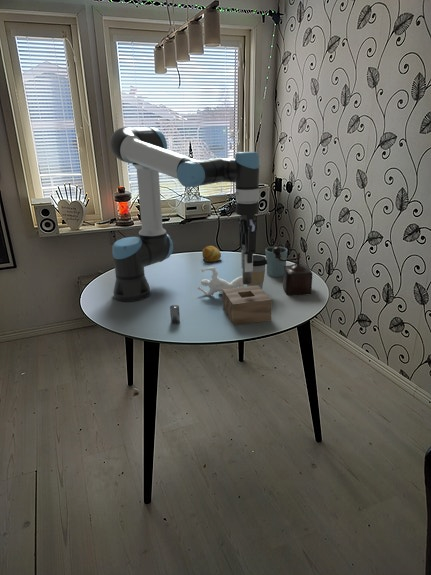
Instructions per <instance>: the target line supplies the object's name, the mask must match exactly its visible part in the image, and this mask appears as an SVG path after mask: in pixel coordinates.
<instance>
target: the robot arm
mask: <svg viewBox="0 0 431 575" xmlns="http://www.w3.org/2000/svg"><path fill="white" fill-rule="evenodd" d="M109 147H110V148H109V149H110V151H111V153H112V154H113V156H114V157H115V158H116V159H118V160H120V161H121V162H124V163H126V164H131V165H132V166H133V167H134V168H135V169H136V180H137V189H138V198H139V199H138V200H139V211H140V222H141V224H140V225H141V228H140V230H139V231H138V236H128V237H122V238H121V239H118V240H116V241H115V242H114V243H113V244H112V255H111V256H112V258H113V265H114V274H115V282H114V286H113V292H112V293H113V297H114V299H115V300H117V301H120V302H128V303H129V302H137V301H140V300H141V301H142V300H144V299H146V298H148V297H149V296H150V295H151V291H152V290H151V286H150V283H149V282H148V279H147V278H146V276H145V275H146V274H145V267H148V266H151V265H154V264H157V263H160V262H163V261H165V260H167V259H169V258H170V257H171V256H172V254H173V251H174V243H173V239H171V236H170V234H168V233H167V230H166V229H165V228H164V227H163V216H162V215H163V214H162V202H161V186H160V173H161V174H163V175H166V176H168V177H171V178H174V179H176V180H178V182H179V183H180V184H181V185H182V186H183V187H185V188H198V187H201V186H206V185H211V184H212V185H213V184H218V183H235V191H234V193H233V194H234V196H235V201H236V203H235V213H236V215H238V216H240V217H239V218H237V222H238V224H237V225H238V245H239V248H240V250H241V251H240V252H241V253H240V254H241V255H240V256H241V257H240V258H241V263H240V264H241V266H240V269H242V245H243V244H245V246H246V252H244V254H245V272H251V271H253V255H254V254H256V250H257V249H256V247H257V230H258V225H257V224H255V219H254V216H255V215H258V214H259V212H260V211H259V208H260V207H259V206H260V205H259V204H260V203H259V202H258V201H260V188H259V187H260V186H259V184H260V183H259V180H260V179H259V178H260V168H261V167H260V166H261V165H260V154H259V153H258V152H257V151H237V152H236V153H235V157H234V158H233V157H232V158H228V157H227V158H226V157H212V158H211V157H210V158H207V159H200V160H199V159H195V158H192V157H189V156H187V155H183V154H181V153H178V152H174V151H172V150H170V149H168V142H167V140H166V137H165V134H164V133H163V132H162V131H161V130H160V129H159V128H157V127H152V126H132V127H131V126H130V127H129V126H124V127H120V128H118V129H116V130H115V131H114V132H113V133H112V135H111V137H110V140H109Z"/></svg>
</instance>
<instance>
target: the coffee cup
mask: <svg viewBox="0 0 431 575" xmlns="http://www.w3.org/2000/svg"><path fill="white" fill-rule="evenodd" d="M266 266H267V260H266V256H265V255H261V254H253V271H252V283H251V284H249V285H247V286H256V285H258V286H259V287H260V288H261V289H262V290H263V285H264V282H265V281H264V280H265V273H266ZM247 286H246V287H247Z"/></svg>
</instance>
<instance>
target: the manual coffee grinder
mask: <svg viewBox="0 0 431 575" xmlns="http://www.w3.org/2000/svg"><path fill="white" fill-rule="evenodd" d="M273 247H274V248H273V250H272V252H273V253H274V254H275V258H278V260H280V261H286V262H289V261H294V260H297V261H295V263H294V264H291V265H286V266H284V276H282V277H283V280H282V289H283V292H284V294H285V295H286V296H287V295H288V296H304V295H303V294H311V295H312V285H313V272H312V271H311V269H310V267H309V266H308V264H307V265H304V264H302V263H300V258H301V253H300V252H297V254H296V255H297V256H295V257H290V258H287V259H281V254H280V253H281V248H280V247H281V246H273Z"/></svg>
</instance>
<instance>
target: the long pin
mask: <svg viewBox="0 0 431 575" xmlns="http://www.w3.org/2000/svg"><path fill="white" fill-rule="evenodd" d="M244 252H246V246H245V244H243V245H242V268H241V269H242V276H243V284H244V285H249V284H251V283H252V271H251V272H245V254H244Z"/></svg>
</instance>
